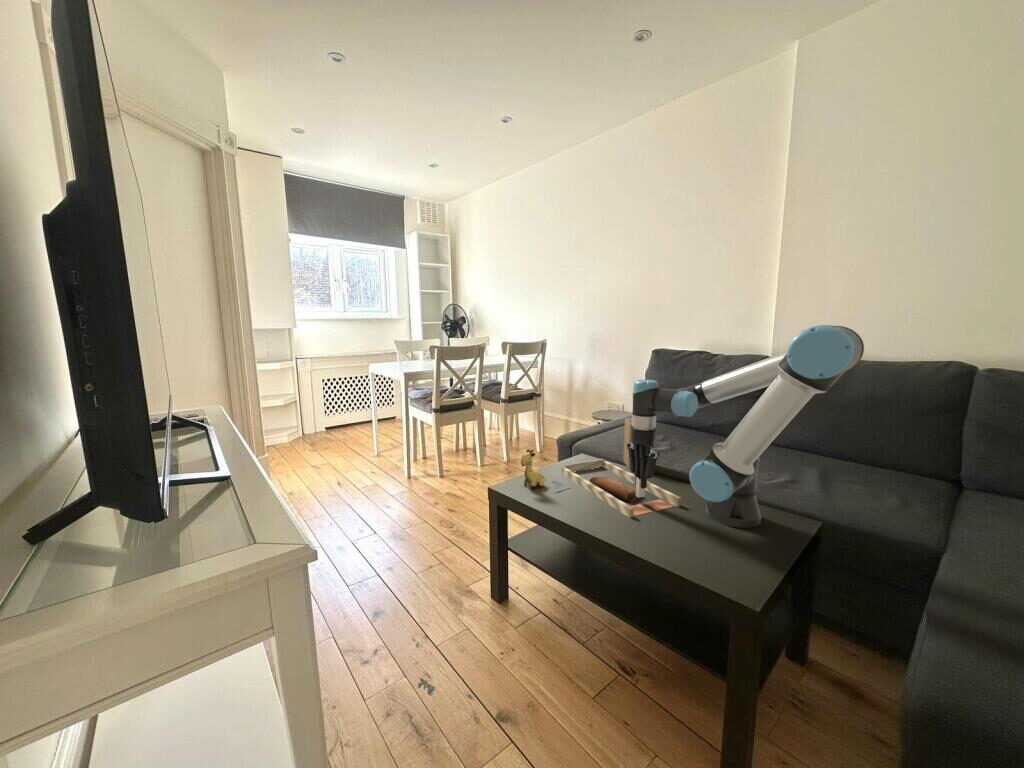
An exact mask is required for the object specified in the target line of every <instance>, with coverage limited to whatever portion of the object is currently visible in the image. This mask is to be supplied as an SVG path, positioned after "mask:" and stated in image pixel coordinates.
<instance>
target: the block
mask: <svg viewBox="0 0 1024 768" xmlns="http://www.w3.org/2000/svg"><path fill="white" fill-rule="evenodd" d="M632 427H633V426H632V417H628V418H624V430H623V431H624V433H623V434H624V435H623V436H624V437H623V463H624V465H626V467H627V468H628V469H629V470H631V467H630V458H629V450H628V447H627V444H629V443H632V440H633V439H632V438H631V428H632ZM654 442H655V440H654V441H653V446H654V445H655V443H654ZM654 447H655V446H654ZM634 469H635V468H634Z"/></svg>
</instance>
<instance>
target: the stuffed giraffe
mask: <svg viewBox="0 0 1024 768" xmlns="http://www.w3.org/2000/svg"><path fill="white" fill-rule="evenodd" d="M534 451H535V450H534V449H533V448H532V449H530V448H527V449H526V451H525V452H524V454H523V455H522V456H521V459H520V465H521V466H522V467H525V468H524V481H523V484H524V487H525V488H526V489H528V490H536V489H543V488H544V487H545V482H548V481H547V479H546V477H545V476H544V475H543V473H541V472H540V471H538V470H534V469H533V464H534V463H533V461H534V460H533V459H534V458H533V457H535V456H536V453H535V452H534ZM551 484H552V485H554V488H553V490H551V493H550V496H551V495H552V493H553V494H556V493H559V492H562V491H565V490H568V489H570V487H569V486H567V485H565V484H564V483H561V482H558V481H555V480H552V481H551Z"/></svg>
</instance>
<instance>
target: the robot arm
mask: <svg viewBox="0 0 1024 768" xmlns="http://www.w3.org/2000/svg"><path fill="white" fill-rule="evenodd" d="M864 351H865V345H864V340H863V339H862V337H861V336H860V335H859V333H857V332H856V331H855V330H853V329H851V328H849V327H846V326H842V325H829V324H828V325H826V324H821V325H814V326H811V327H808V328H806V329H805V330H802V331H801V332H799V333H798V334H796V335H795V336H794V338H793V339H791V341H790V343H789V345H788V347H787V350H786V351H784V352H779V353H777V354H774V355H773V356H769V357H767V358H764V359H761V360H759V361H755V362H753V363H751V364H748V365H745V366H742V367H739V368H737V369H734V370H732V371H729V372H726V373H724V374H720V375H718V376H717V375H716V376H715V377H712V378H710V379H707V380H703V381H702V382H701V381H700V382H698V383H696V384H693V385H690V386H686V387H681V388H677V389H669V388H661V387H659V382H658V381H656V380H654V379H636V380H635V381H634V382H633V389H632V411H631V412H632V413H631V418H632V426H633V427H632V428H631V438H632V439H633V440H632V443H629V444H627V447H628V450H629V458H630V467H631V469H630V473H632V474H634V475H635V476H636V478H635V484H634V485H635V489H636V496H637V497H638V498H637V499H639V498H643V497H646V490H645V488H646V487H647V481H648V479H653V476H654V472H655V467H656V464H657V460H658V458H659V456H660V452H657V451H656V450H655V446H653V441H654V442H655V440H656V435H657V434H656V432H657V431H656V427H657V413H662V414H667V415H673V416H677V417H689V418H690V417H693V416H694V415H695V413H696V412H697V410H699V409H701V408H705V407H707V406H710V405H713V404H717V403H720V402H723V401H725V400H728V399H732V398H735V397H738V396H741V395H745V394H748V393H751V392H754V391H755V392H756V391H757V390H760V389H761V390H762V389H765V388H766V390H765V391H764V392H763V394H761V396H760V397H759V398H758V399H757V401H756V402H755V404H753V406H752V407H751V408H750V409H749V410H748V411H747V413H746V414H745V416H744V417H743V418H742V420H741V421H740V422H739V423H738V425H737V426H735V428H734V429H733V431H731V433H730V434H729V435H728V436H727V438H726V439H725V440H724V442H717V443H714V445H713V446H712V447H711V448H710V449H709V450H708V452H707V453H706V454H705V456H704V457H703V458H702V459H700V461H697V462H695V463H694V464H693V465H692V466H691V469H690V471H689V473H688V474H689V478H688V479H689V483H690V486H691V487H692V489H693V490H694V492H695V493H696V494H697V495H698V496H700V497H701V498H702V499H704V500H705V501H707V502H706V504H705V514H706V515H707V517H709V519H711V520H714V521H715V522H718V523H720V524H723V525H726V526H728V527H733V528H739V529H752V528H751V527H753V528H756V526H757V527H758V525H759V524H760V525H761V522H762V513H761V511H760V508H759V503H758V500H757V490H758V489H757V488H758V487H757V486H758V478H759V477H758V476H759V474H758V473H759V464H760V456H761V455H762V454H763V452H765V450H767V449H768V447H769V446H770V445H771V444H772V442H773V441H774V440H775V439H776V438H777V437H778V436H779V435H780V434H781V432H782V431H784V429H785V428H786V427H787V426H788V425H789V423H790V422H791V421H792V420H793V419H794V418H795V417H796V416H797V414H798V413H799V412H800V411H801V410H802V409H803V408H804V407H805V405H806V404H807V403H808V402H809V401H810V400H811V399H812V398H813V396H814V395H817V394H824V393H825V394H826V393H827V392H828V391H829V390H830V389H831V387H832V386H834V385H835V383H836V382H837V381H838V380H839V378H841V376H842V375H843V374H844V373H845V372H846V371H848V370H850V369H853V368H854V367H855V366H856V365H857V364H858V363H859V362H860V361H861V359H862V358H863V356H864ZM634 468H635V469H634ZM760 525H759V526H760Z"/></svg>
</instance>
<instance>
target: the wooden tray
mask: <svg viewBox="0 0 1024 768" xmlns="http://www.w3.org/2000/svg"><path fill="white" fill-rule="evenodd" d="M603 466H604V467H606V468H607V469H609V470H611V471H612V472H614V473H616V474H618V475H619V476H618V475H617V476H618V477H620V476H621V477H620V478H622V477H623V478H625V479H626V481H627V480H628V481H627V482H629V481H630V482H629V483H631V482H632V483H631V484H633V483H634V485H635V478H636V476H635V474H634V473H632V472H631V471H630V472H629V471H627V470H625V469H623V468H621V467H619V466H617V465H615V464H613V463H611V462H609V461H606V460H604V458H599V459H597V458H596V459H592V460H591V459H590V460H586V461H579V462H575V463H568V464H567V463H566V464H564V467H561V474H562V473H563V474H565V475H566V476H565V475H564V476H565V477H567V478H568V477H569V478H568V479H570V480H571V479H572V480H571V481H572V482H574V481H575V482H574V483H576V484H577V483H578V484H577V485H579V486H580V485H581V486H580V487H582V488H583V489H585V490H586V491H588V492H590V493H591V494H592V495H594V496H595V497H596V498H598V499H600V500H601V501H603V502H605V503H606V504H608V505H609V506H610V507H612V508H614V509H616V510H617V511H618V512H620V513H621V514H623V516H624V515H625V516H626V517H628V518H629V519H630V518H634V517H635V516H639V515H644V514H649V513H652V512H653V511H652V510H651V509H649V508H648V507H650V508H652V509H653V510H655V511H657V512H659V511H662V510H667V509H670V508H674V507H676V508H679V507H681V505H682V497H681V496H679V495H677V494H675V493H672V492H670V491H669V490H666V489H665V488H662V487H660V486H658V485H656V484H654V483H652V482H650V481H648V480H647V487H646V488H645V492H648V493H650V494H652V495H654V496H655V497H657V498H659V499H655V500H652V501H647V502H644V504H645V505H647V506H648V507H646V506H644V505H643V504H641V503H637V504H633V505H629V504H627V503H625V502H624V501H622V500H620V499H619V498H618V497H617V496H615V495H613V494H610V493H608V492H606V491H604V490H602V489H601V488H599V487H597V486H596V485H594V484H592V483H591V482H589V481H590V480H588V479H585V478H584V477H582V476H581V475H579V474H577V472H574V471H579V470H586V469H591V468H596V467H603ZM607 469H606V470H607ZM609 470H608V471H609ZM586 471H587V470H586ZM612 472H611V473H612ZM614 473H613V474H614ZM563 474H562V475H563ZM616 474H615V475H616ZM623 478H622V479H623ZM625 479H624V480H625Z"/></svg>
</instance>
